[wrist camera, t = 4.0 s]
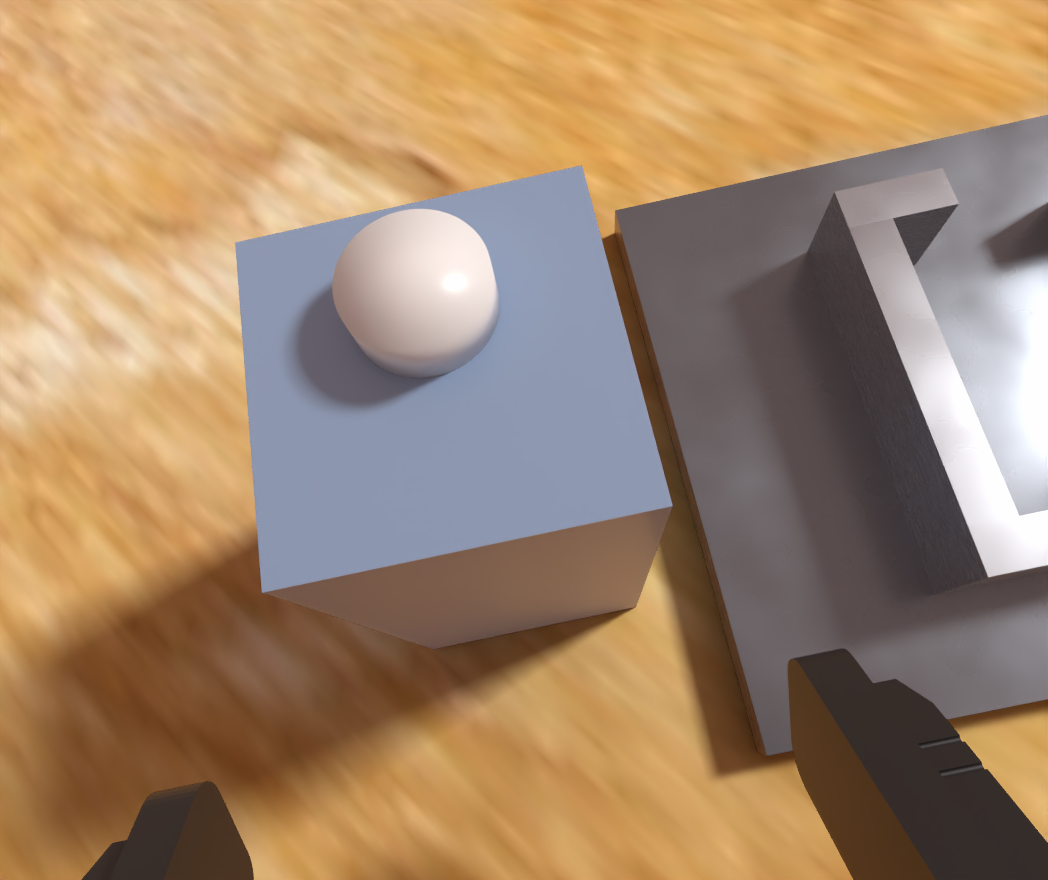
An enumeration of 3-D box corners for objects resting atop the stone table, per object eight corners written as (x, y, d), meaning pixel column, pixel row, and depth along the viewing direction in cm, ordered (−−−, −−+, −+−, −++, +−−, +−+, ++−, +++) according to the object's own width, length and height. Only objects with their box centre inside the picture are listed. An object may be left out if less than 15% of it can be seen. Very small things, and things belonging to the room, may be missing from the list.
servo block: (433, 649, 19) (232, 582, 8) (395, 395, 21) (201, 101, 11) (635, 607, 18) (679, 489, 8) (575, 356, 21) (552, 22, 11)
